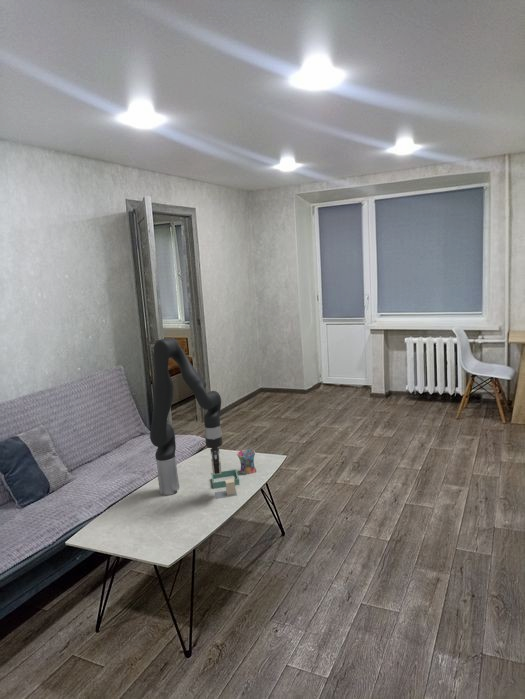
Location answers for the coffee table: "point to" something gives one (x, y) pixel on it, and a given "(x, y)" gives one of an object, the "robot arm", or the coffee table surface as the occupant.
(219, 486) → the green bin
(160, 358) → the robot arm
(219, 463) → the block
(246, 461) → the floral patterned vase
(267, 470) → the coffee table surface
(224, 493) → the slate board
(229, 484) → the stone right
